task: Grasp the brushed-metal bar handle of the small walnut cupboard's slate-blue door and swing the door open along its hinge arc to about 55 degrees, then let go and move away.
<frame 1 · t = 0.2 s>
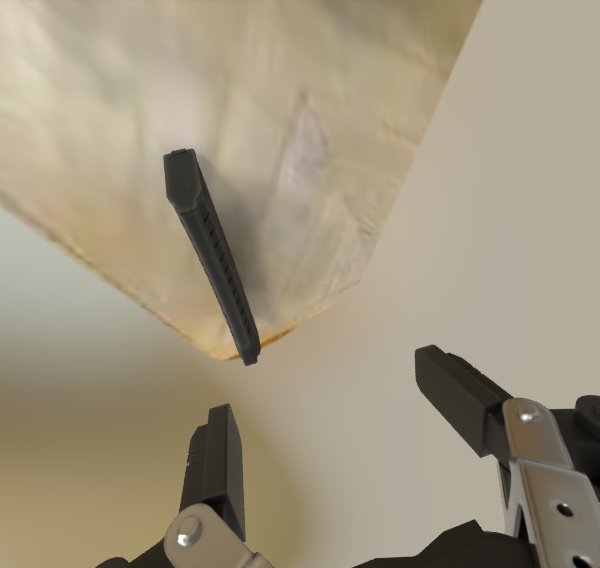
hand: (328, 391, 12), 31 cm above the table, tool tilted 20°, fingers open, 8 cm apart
magazine: (221, 256, 43), on the table
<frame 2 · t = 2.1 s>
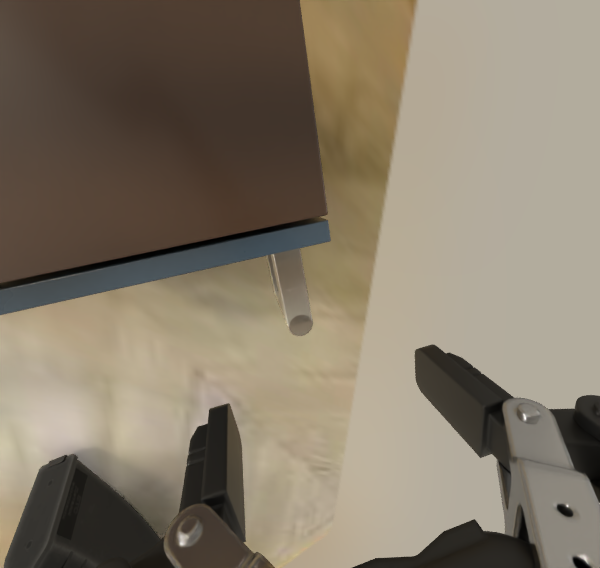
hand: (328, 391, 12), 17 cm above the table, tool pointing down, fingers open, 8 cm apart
magazine: (140, 531, 35), on the table
cupboard door: (189, 277, 20), point 7 cm above the table, hinge at 0.0°
cupboard: (168, 151, 23), on the table
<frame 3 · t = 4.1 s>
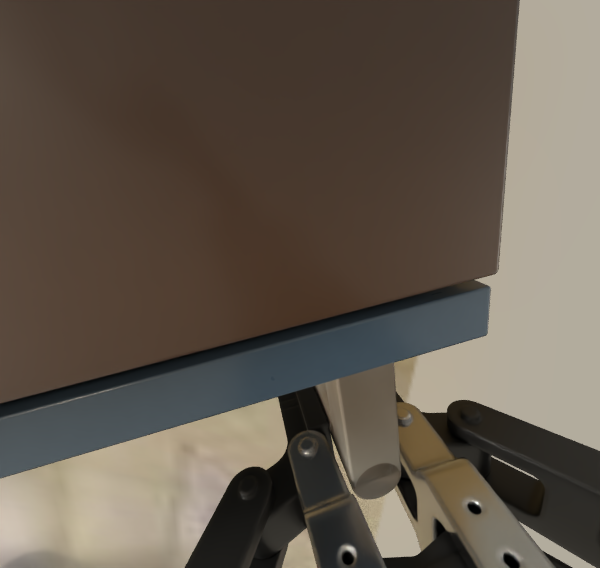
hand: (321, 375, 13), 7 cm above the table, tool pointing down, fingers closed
cupboard door: (160, 349, 11), point 7 cm above the table, hinge at 0.0°, touching gripper
cupboard: (135, 136, 15), on the table
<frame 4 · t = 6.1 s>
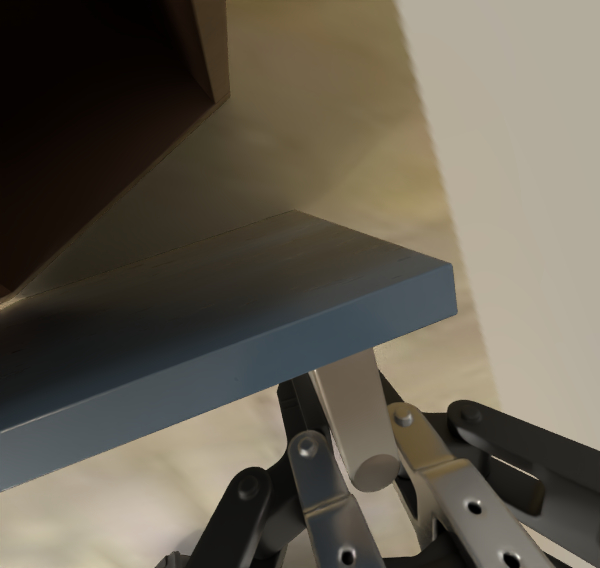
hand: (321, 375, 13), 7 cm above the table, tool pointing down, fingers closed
cupboard door: (159, 361, 12), point 7 cm above the table, hinge at 23.1°, touching gripper
cupboard: (29, 115, 14), on the table
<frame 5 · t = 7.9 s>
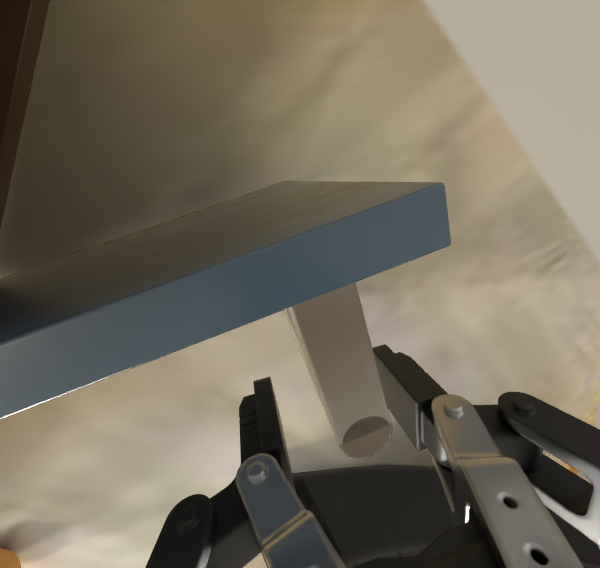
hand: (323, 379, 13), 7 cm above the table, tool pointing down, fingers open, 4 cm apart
magazine: (414, 475, 29), on the table
cupboard door: (141, 334, 11), point 7 cm above the table, hinge at 47.2°
figurine: (19, 550, 22), on the table
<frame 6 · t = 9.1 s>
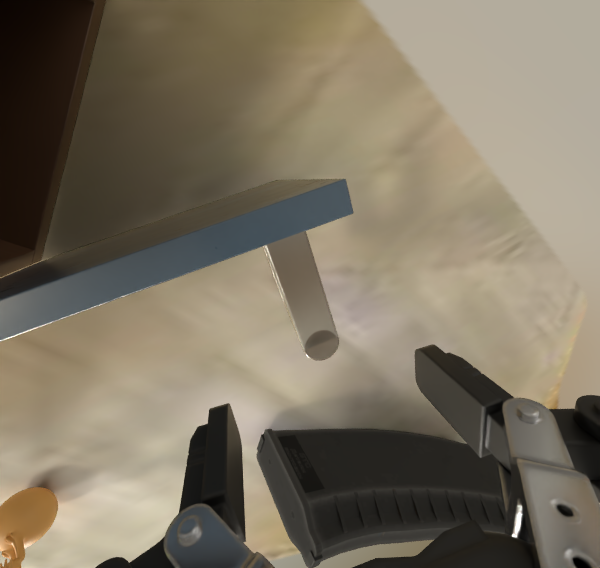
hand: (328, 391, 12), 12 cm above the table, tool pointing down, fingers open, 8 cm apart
magazine: (394, 440, 32), on the table
cupboard door: (167, 292, 15), point 7 cm above the table, hinge at 47.2°
figurine: (55, 492, 26), on the table
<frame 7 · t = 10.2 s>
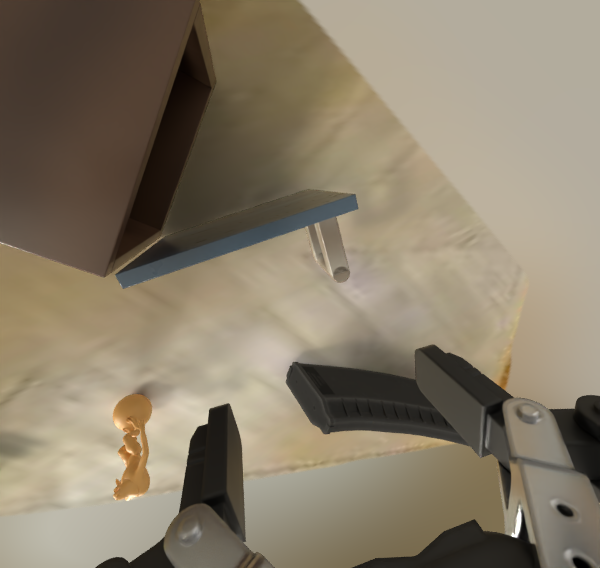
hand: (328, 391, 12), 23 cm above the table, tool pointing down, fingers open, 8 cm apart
magazine: (384, 381, 44), on the table
cupboard door: (251, 253, 26), point 7 cm above the table, hinge at 47.2°
figurine: (147, 401, 37), on the table
cupboard: (133, 137, 28), on the table
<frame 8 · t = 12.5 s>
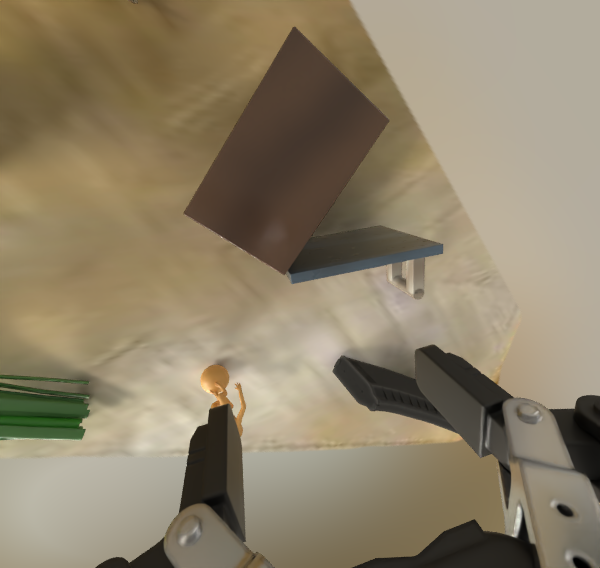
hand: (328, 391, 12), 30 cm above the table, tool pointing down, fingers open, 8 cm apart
magazine: (402, 382, 54), on the table
cupboard door: (347, 269, 36), point 7 cm above the table, hinge at 47.2°
figurine: (221, 372, 45), on the table
cupboard: (268, 171, 37), on the table
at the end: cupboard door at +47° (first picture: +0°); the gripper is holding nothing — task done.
